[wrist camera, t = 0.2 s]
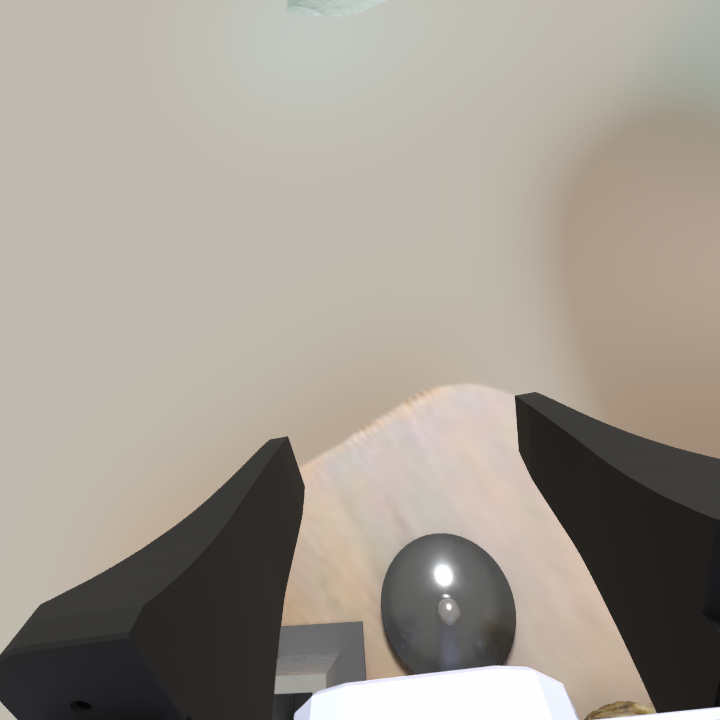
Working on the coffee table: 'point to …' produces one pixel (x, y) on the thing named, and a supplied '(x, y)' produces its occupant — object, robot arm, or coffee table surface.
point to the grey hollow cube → (303, 679)
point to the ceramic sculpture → (621, 710)
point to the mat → (326, 649)
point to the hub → (447, 606)
